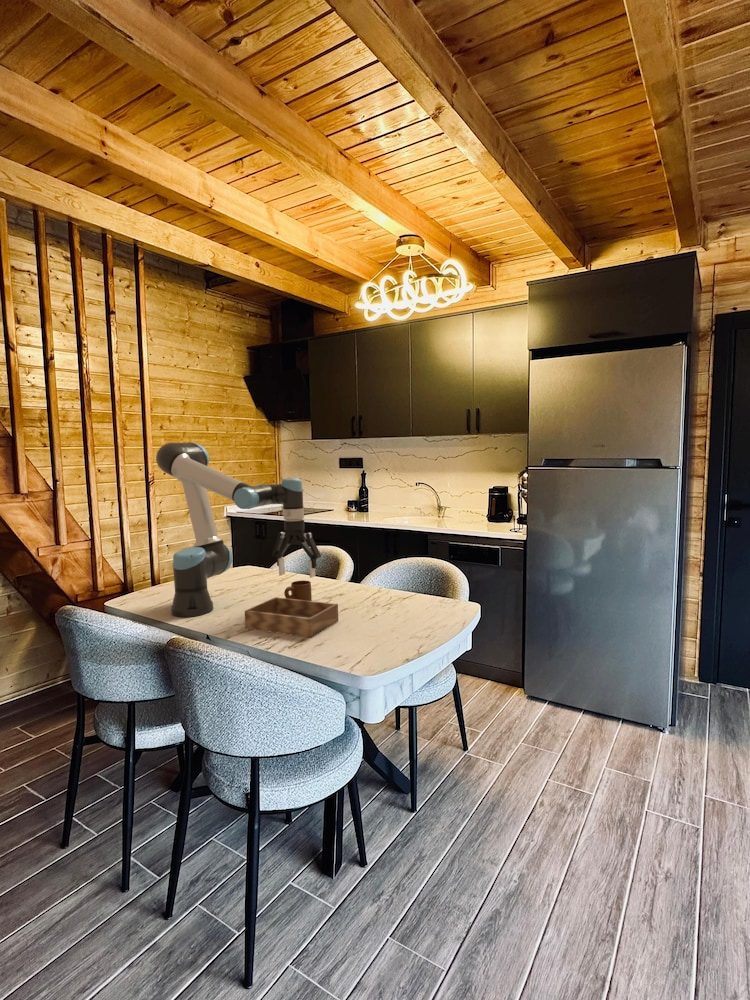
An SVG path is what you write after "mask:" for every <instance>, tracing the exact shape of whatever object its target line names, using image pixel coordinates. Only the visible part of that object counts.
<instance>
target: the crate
mask: <svg viewBox="0 0 750 1000" xmlns="http://www.w3.org/2000/svg"><path fill="white" fill-rule="evenodd" d="M290 614H296V615H304V616H312V617H310V618H306V617H298V616H289V615H290ZM338 621H339V604H338V603H332V602H323V601H322V602H321V601H314V600H312V601H306V600H297V599H288V598H286V597H279V596H278V597H277V596H276V597H273V598H271V599H268V600H266V601H264V602H262V603H260V604H258V605H255V606H253V607H250V608H248V609H246V610H244V623H245V626H244V627H245V629H247V628H248V629H247V630H254V629H256V630H257V631H261V630H264V631H263V632H268V631H271V632H270V633H275V632H278V633H277V634H282V633H285V634H284V635H289V634H292V635H291V636H296V635H300V636H299V637H303V636H307V637H306V638H310V637H311V638H313V637H315V636H316V635H318V634H320V633H321V632H323V631H325V630H326V629H327V627H328V628H329V627H331V626H333V625H334V624H336V623H338ZM325 628H326V629H325ZM256 630H255V631H256ZM322 630H323V631H322ZM319 632H320V633H319ZM317 633H318V634H317ZM314 635H315V636H314ZM312 636H313V637H312Z"/></svg>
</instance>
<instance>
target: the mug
mask: <svg viewBox="0 0 750 1000" xmlns="http://www.w3.org/2000/svg"><path fill="white" fill-rule="evenodd" d="M283 593H284V594H283V595H284V598H288V599H297V600H306V601H313V597H312V584H311V581H309V580H296V581H292V582H291V584H290V586H287V587H286V588H285V590H284V592H283ZM290 593H291V594H290Z"/></svg>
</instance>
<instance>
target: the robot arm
mask: <svg viewBox="0 0 750 1000" xmlns="http://www.w3.org/2000/svg"><path fill="white" fill-rule="evenodd" d="M155 461H156V465H157V466H158V468H159V469H160V470H161V471H162V472H164V473H166V474H167V475H170V476H172V477H174V478H176V480H177V481H179V482H181V485H182V487H183V493H184V496H185V501H186V504H187V505H186V506H187V509H188V514H189V518H190V521H191V526H192V530H193V534H194V535H193V536H194V539H195V543H193V545H192V547H188V548H182V549H180V550H178V551H176V552H175V553H174V554H173V556H172V557H173V558H172V568H173V569H172V570H173V571H172V572H173V583H174V585H173V586H174V594H173V600H172V605H171V607H170V613H171V615H172V616H175V617H178V616H179V618H189V617H198V616H202V615H206V614H208V613H210V612H212V611H213V610H214V602H213V600H212V598H211V595H210V593H209V590H208V579H210V578H212V577H214V576H215V577H216V576H219V575H221V574H223V573H225V572H226V571H228V570H229V569H230V567H231V565H232V564H233V552H232V550H231V549H230V547H228V546H227V545H226V544H225V542H224V539H223V538H222V537H220V536H219V535H218V531H217V527H216V523H215V518H214V514H213V510H212V505H211V502H210V497H209V493H208V490H209V491H211V492H213V493H215V494H217V495H220V496H222V497H224V498H226V499H228V500H231V501H232V502H234V504H235V506H236V507H237V508H239V509H241V510H250V509H254V508H257V507H264V506H268V505H282V509H283V519H284V521H283V527H284V528H283V529H284V531H285V532H284V531H281V532H277V539H276V541H275V544H274V547H273V550H272V554H271V556H272V557H274V558H276V565H277V567H278V575H279V576H283V575H286V569H285V557H284V554H285V552H286V551H287V550H288V548H289V547H290V546H292V545H294V546H299V547H301V548H302V549H303V551H304V552H305V553H306V555H307V556H308V557H309V559H308V567H309V568H308V569H309V571H308V572H309V578H314V577H316V568H317V566H318V565H317V559H319V558H321V557H322V554H321V553H320V550H319V549H318V546H317V544H316V542H315V540H314V538H313V537H314V536H313V533H312V532H307V533H306V532H305V529H306V528H305V520H304V519H305V511H304V510H305V509H304V497H303V496H304V494H303V492H304V489H303V482H302V479H301V478H299V477H298V478H295V477H294V478H293V477H292V478H283V479H282V480H281V483H278V484H270V483H269V484H266V483H263V484H261V483H260V484H256V485H254V486H252V485H249V484H248V483H245V482H243V481H241V480H239V479H236V478H234V477H231V475H227V474H225V473H223V472H221V471H219V470H217V469H214V468H211V467H210V466H209V464H210V457H209V453H208V451H207V449H206V448H205V447H204V446H202V445H201V444H200V443H195V442H191V441H190V442H189V441H188V442H169V443H168V442H167V443H165V444H163V445H162V446H160V447H159V449H158V450H157V452H156V455H155ZM284 539H285V541H284Z"/></svg>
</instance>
